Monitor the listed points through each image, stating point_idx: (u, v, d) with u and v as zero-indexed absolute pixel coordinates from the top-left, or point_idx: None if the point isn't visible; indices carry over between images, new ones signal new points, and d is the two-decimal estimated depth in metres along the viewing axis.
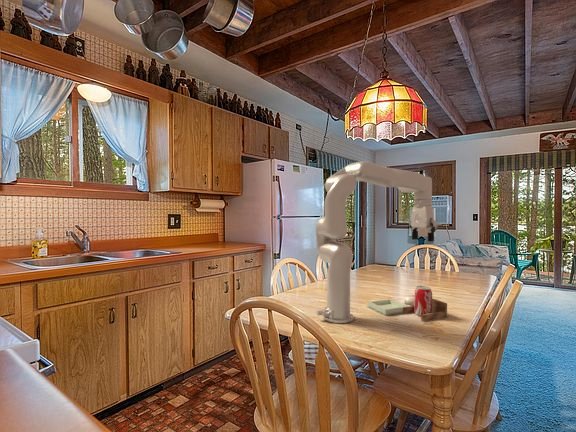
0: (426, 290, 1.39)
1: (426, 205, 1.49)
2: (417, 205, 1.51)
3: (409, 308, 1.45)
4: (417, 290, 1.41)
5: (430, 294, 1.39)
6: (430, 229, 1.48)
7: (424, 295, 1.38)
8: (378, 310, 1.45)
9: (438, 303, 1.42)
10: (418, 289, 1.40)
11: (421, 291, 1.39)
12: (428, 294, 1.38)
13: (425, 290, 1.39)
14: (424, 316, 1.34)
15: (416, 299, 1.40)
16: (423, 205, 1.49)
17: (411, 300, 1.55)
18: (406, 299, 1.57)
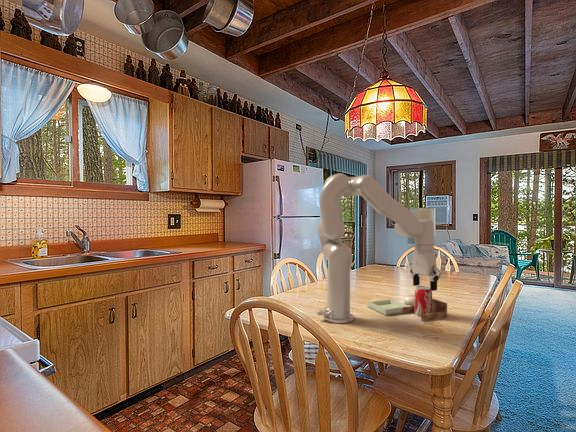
0: (426, 290, 1.39)
1: (428, 251, 1.37)
2: (418, 250, 1.39)
3: (409, 308, 1.45)
4: (417, 290, 1.41)
5: (430, 294, 1.39)
6: (433, 278, 1.36)
7: (424, 295, 1.38)
8: (378, 310, 1.45)
9: (438, 303, 1.42)
10: (418, 289, 1.40)
11: (421, 291, 1.39)
12: (428, 294, 1.38)
13: (425, 290, 1.39)
14: (424, 316, 1.34)
15: (416, 299, 1.40)
16: (424, 251, 1.37)
17: (411, 300, 1.55)
18: (406, 299, 1.57)
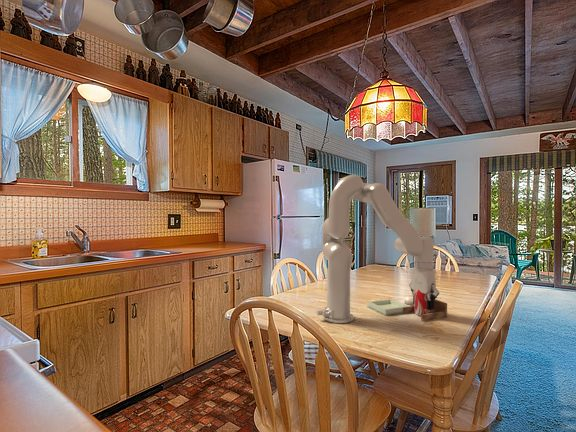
0: None
1: (427, 269, 1.37)
2: (417, 268, 1.39)
3: (409, 308, 1.45)
4: (417, 290, 1.41)
5: (430, 294, 1.39)
6: (430, 297, 1.37)
7: (424, 295, 1.38)
8: (378, 310, 1.45)
9: (438, 303, 1.42)
10: None
11: None
12: None
13: None
14: (424, 316, 1.34)
15: (416, 299, 1.40)
16: (424, 269, 1.38)
17: (411, 300, 1.55)
18: (406, 299, 1.57)
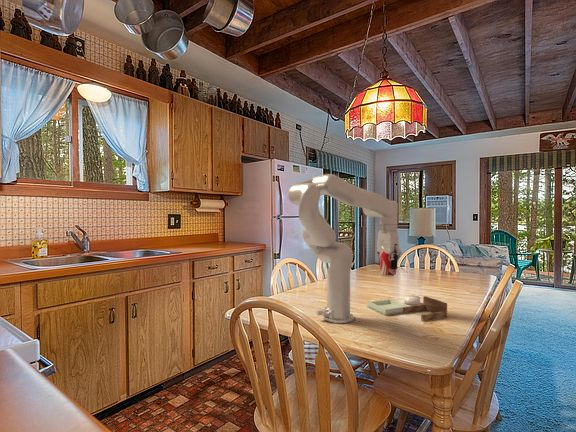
0: None
1: (391, 230, 1.45)
2: (382, 230, 1.47)
3: (409, 308, 1.45)
4: (382, 251, 1.48)
5: None
6: (393, 257, 1.44)
7: (388, 255, 1.45)
8: (378, 310, 1.45)
9: (438, 303, 1.42)
10: None
11: None
12: None
13: None
14: (424, 316, 1.34)
15: (381, 260, 1.48)
16: (388, 230, 1.45)
17: (411, 300, 1.55)
18: (406, 299, 1.57)
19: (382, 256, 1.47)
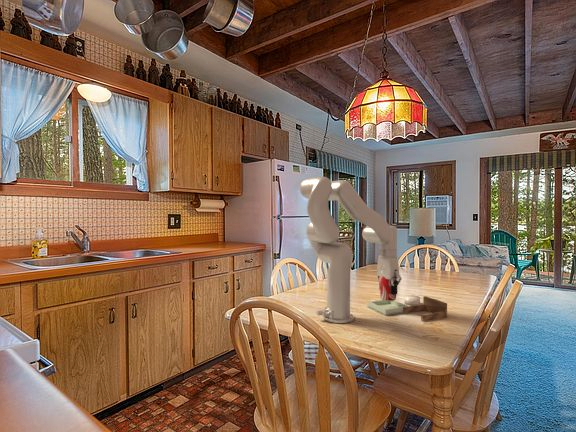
0: None
1: (391, 256, 1.45)
2: (382, 255, 1.47)
3: (409, 308, 1.45)
4: (382, 276, 1.48)
5: (394, 280, 1.46)
6: (393, 282, 1.44)
7: (388, 281, 1.46)
8: (378, 310, 1.45)
9: (438, 303, 1.42)
10: None
11: None
12: None
13: None
14: (424, 316, 1.34)
15: (381, 285, 1.48)
16: (388, 256, 1.45)
17: (411, 300, 1.55)
18: (406, 299, 1.57)
19: (382, 281, 1.48)
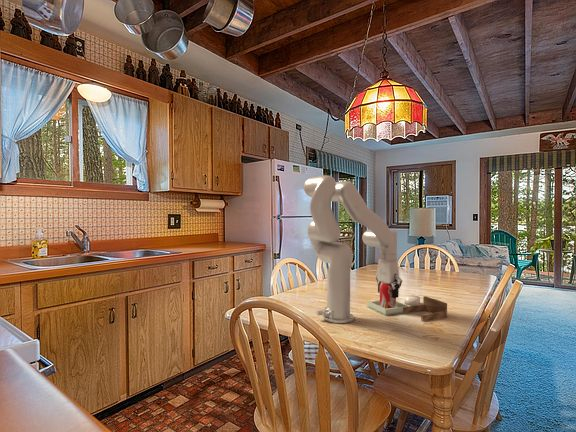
0: (389, 284, 1.46)
1: (390, 260, 1.45)
2: (382, 259, 1.47)
3: (409, 308, 1.45)
4: (381, 284, 1.48)
5: None
6: (394, 285, 1.44)
7: (388, 289, 1.45)
8: (378, 310, 1.45)
9: (438, 303, 1.42)
10: (382, 283, 1.48)
11: (385, 285, 1.46)
12: (391, 288, 1.46)
13: (389, 284, 1.46)
14: (424, 316, 1.34)
15: (381, 293, 1.48)
16: (387, 260, 1.45)
17: (411, 300, 1.55)
18: (406, 299, 1.57)
19: (381, 289, 1.47)
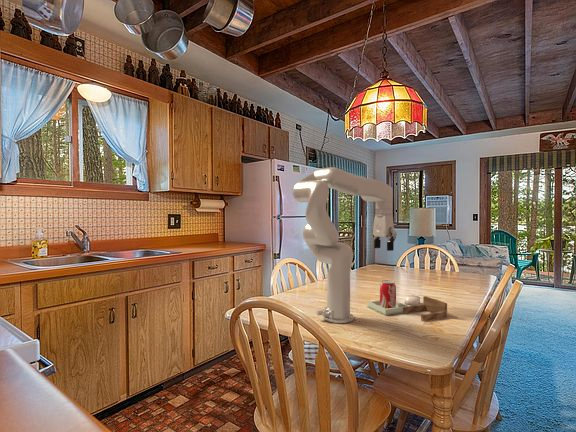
0: (390, 284, 1.46)
1: (386, 214, 1.50)
2: (377, 214, 1.52)
3: (409, 308, 1.45)
4: (382, 284, 1.48)
5: (394, 287, 1.46)
6: (389, 238, 1.48)
7: (388, 289, 1.46)
8: (378, 310, 1.45)
9: (438, 303, 1.42)
10: (383, 283, 1.48)
11: (385, 285, 1.46)
12: (392, 287, 1.46)
13: (389, 284, 1.46)
14: (424, 316, 1.34)
15: (381, 292, 1.48)
16: (383, 214, 1.50)
17: (411, 300, 1.55)
18: (406, 299, 1.57)
19: (382, 289, 1.47)
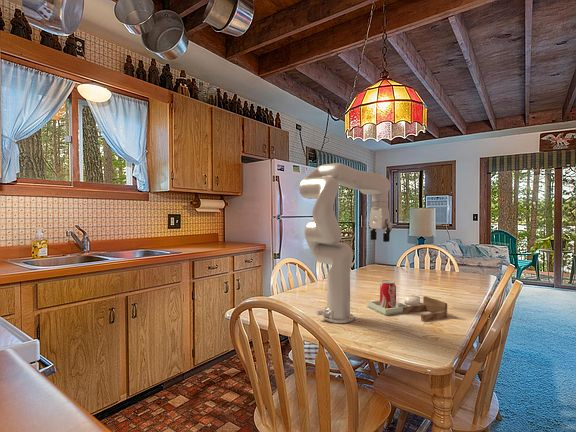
0: (390, 284, 1.46)
1: (382, 207, 1.55)
2: (374, 207, 1.57)
3: (409, 308, 1.45)
4: (382, 284, 1.48)
5: (394, 288, 1.46)
6: (385, 230, 1.53)
7: (388, 289, 1.46)
8: (378, 310, 1.45)
9: (438, 303, 1.42)
10: (383, 283, 1.48)
11: (385, 285, 1.46)
12: (392, 288, 1.46)
13: (389, 284, 1.46)
14: (424, 316, 1.34)
15: (381, 292, 1.48)
16: (379, 207, 1.55)
17: (411, 300, 1.55)
18: (406, 299, 1.57)
19: (382, 289, 1.47)
